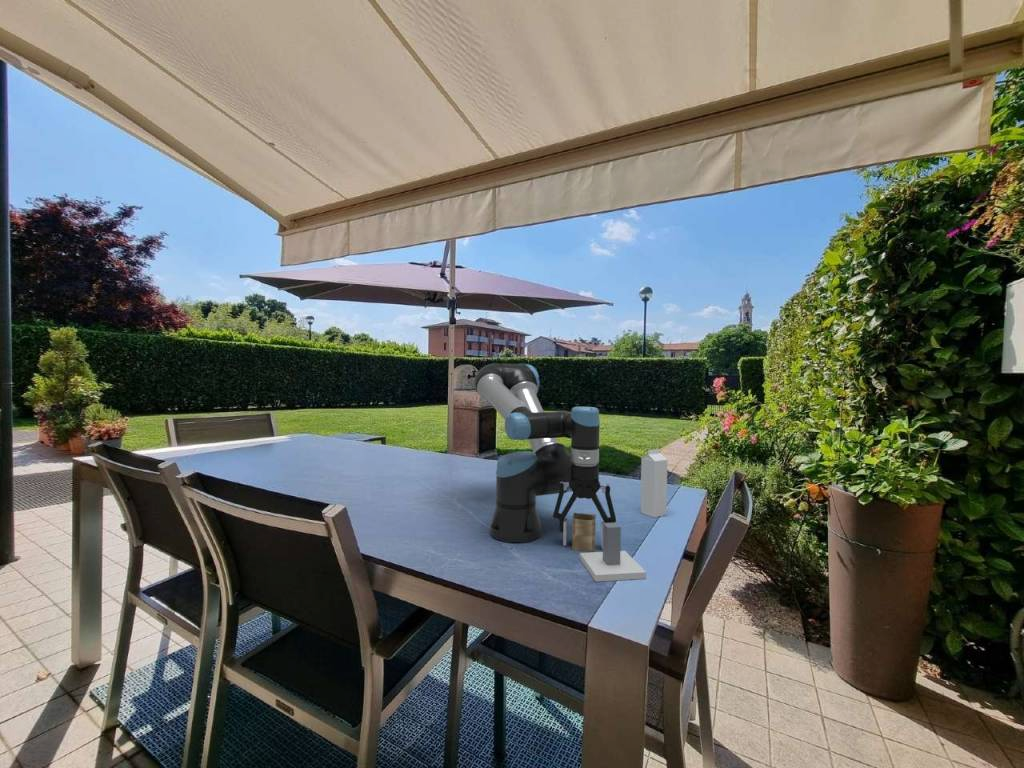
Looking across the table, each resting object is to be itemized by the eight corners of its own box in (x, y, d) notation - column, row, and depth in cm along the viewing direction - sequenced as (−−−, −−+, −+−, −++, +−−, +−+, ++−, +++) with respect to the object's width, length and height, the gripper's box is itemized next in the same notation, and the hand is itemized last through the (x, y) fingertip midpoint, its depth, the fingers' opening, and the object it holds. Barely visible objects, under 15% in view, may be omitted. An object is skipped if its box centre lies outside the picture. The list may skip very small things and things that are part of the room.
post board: (595, 581, 94) (596, 535, 94) (579, 558, 106) (580, 517, 106) (646, 578, 96) (646, 533, 96) (624, 556, 108) (625, 515, 108)
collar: (572, 549, 112) (572, 519, 112) (573, 541, 118) (573, 512, 118) (594, 551, 111) (595, 521, 110) (595, 542, 116) (595, 514, 116)
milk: (666, 515, 141) (668, 450, 140) (654, 518, 138) (655, 451, 137) (652, 510, 146) (653, 447, 146) (640, 512, 143) (641, 448, 143)
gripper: (542, 464, 112) (541, 547, 113) (627, 468, 108) (626, 554, 108) (546, 459, 120) (545, 536, 120) (626, 463, 115) (625, 543, 116)
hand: (583, 545), depth 114 cm, fingers open, 9 cm apart
